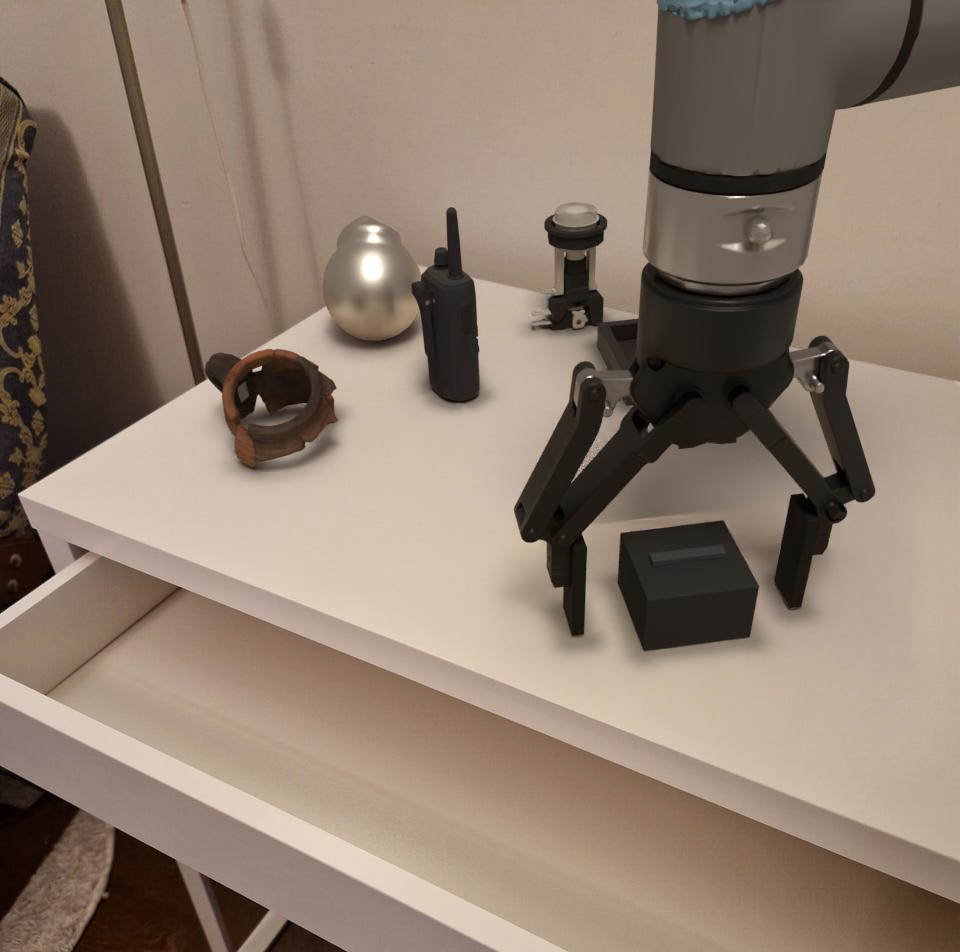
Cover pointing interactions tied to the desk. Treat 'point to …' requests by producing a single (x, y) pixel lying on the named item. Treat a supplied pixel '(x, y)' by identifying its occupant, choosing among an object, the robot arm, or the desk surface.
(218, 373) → the pottery mug
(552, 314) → the push button
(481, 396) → the desk surface
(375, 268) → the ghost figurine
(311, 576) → the desk surface
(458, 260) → the two-way radio
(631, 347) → the base pad
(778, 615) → the desk surface
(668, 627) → the top pad
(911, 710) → the desk surface
